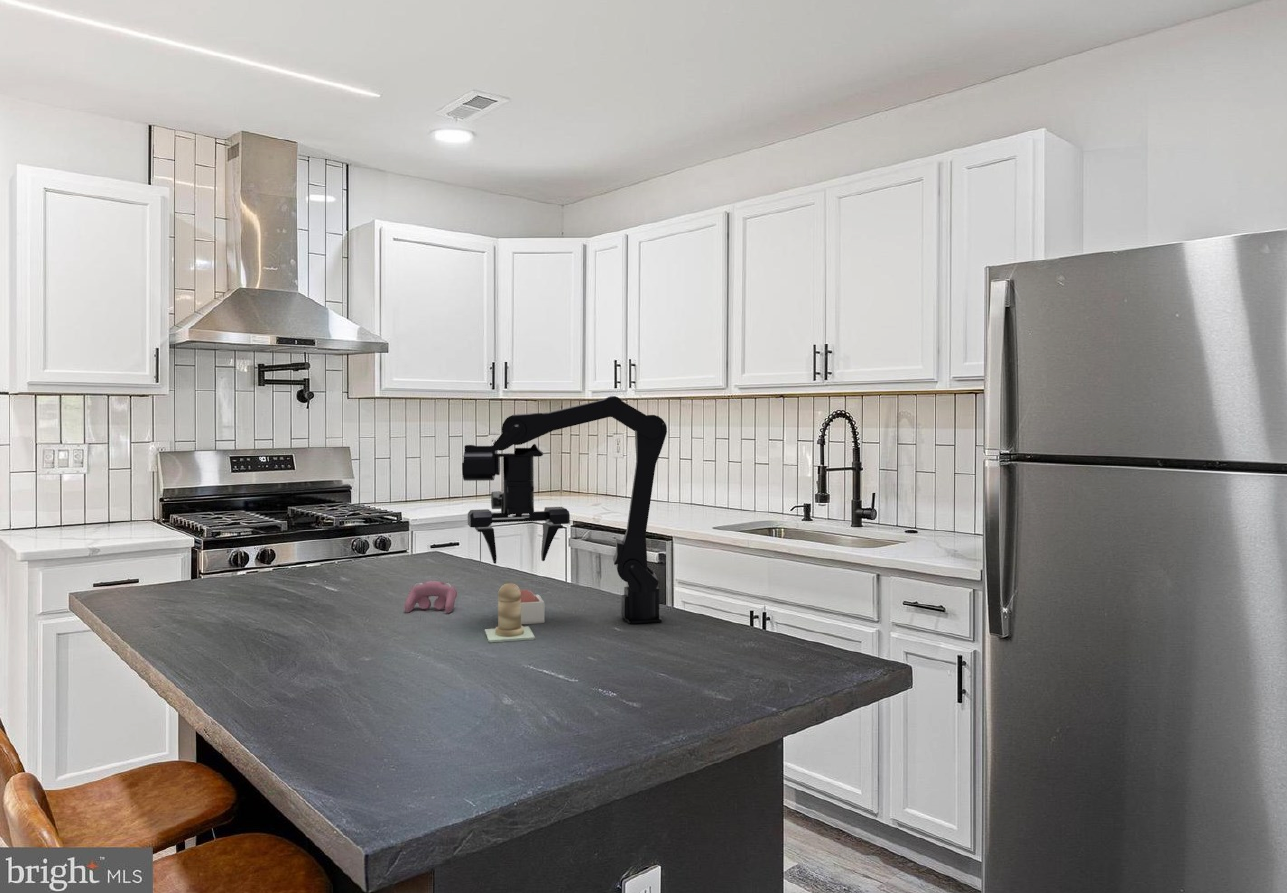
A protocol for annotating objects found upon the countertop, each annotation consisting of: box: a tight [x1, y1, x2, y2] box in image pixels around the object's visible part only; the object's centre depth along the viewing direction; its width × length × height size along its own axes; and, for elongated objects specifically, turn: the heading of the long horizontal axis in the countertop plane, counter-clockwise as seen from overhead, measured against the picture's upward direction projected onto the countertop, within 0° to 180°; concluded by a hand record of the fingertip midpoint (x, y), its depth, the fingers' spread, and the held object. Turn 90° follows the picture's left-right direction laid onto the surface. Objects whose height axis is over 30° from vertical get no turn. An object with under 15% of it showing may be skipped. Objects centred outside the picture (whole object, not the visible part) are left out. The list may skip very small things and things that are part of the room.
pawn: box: [494, 582, 525, 637], centre depth 152 cm, size 5×5×9 cm
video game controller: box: [404, 580, 458, 615], centre depth 172 cm, size 10×5×7 cm, turn 85°
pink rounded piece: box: [520, 588, 536, 603], centre depth 164 cm, size 5×5×5 cm
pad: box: [484, 626, 536, 643], centre depth 152 cm, size 8×8×1 cm
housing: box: [521, 594, 545, 625], centre depth 164 cm, size 7×7×4 cm
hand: (519, 562), depth 162 cm, fingers open, 9 cm apart
